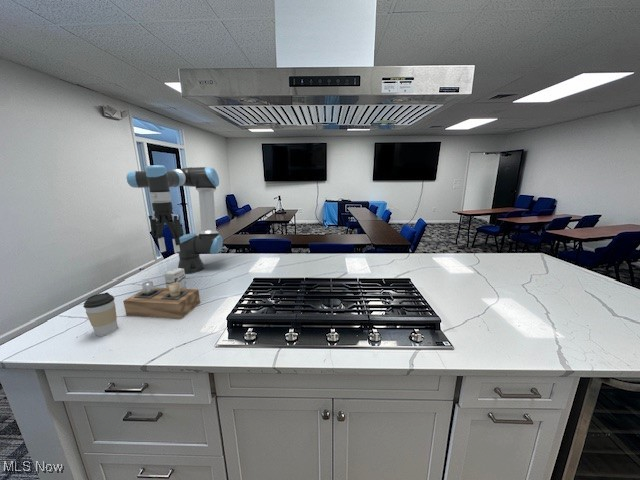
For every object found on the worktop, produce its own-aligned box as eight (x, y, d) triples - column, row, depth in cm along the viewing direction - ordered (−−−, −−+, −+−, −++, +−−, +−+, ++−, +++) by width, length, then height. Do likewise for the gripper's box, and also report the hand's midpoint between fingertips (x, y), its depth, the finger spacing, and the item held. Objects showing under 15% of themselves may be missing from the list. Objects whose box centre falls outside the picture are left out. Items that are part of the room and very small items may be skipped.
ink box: (175, 295, 127) (172, 274, 124) (167, 295, 128) (163, 273, 125) (187, 288, 135) (184, 268, 132) (179, 287, 136) (176, 267, 133)
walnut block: (151, 300, 123) (148, 286, 121) (200, 302, 120) (198, 288, 118) (126, 315, 109) (122, 300, 107) (181, 318, 106) (178, 302, 104)
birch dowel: (175, 296, 114) (172, 282, 113) (183, 296, 114) (180, 282, 112) (169, 300, 111) (166, 286, 109) (177, 300, 110) (174, 286, 108)
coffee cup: (97, 340, 93) (87, 304, 89) (87, 333, 97) (77, 298, 93) (125, 327, 100) (117, 293, 96) (114, 321, 104) (106, 289, 101)
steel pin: (149, 295, 116) (146, 281, 114) (157, 295, 116) (154, 281, 114) (142, 299, 112) (139, 284, 110) (150, 299, 112) (147, 285, 110)
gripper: (134, 202, 108) (144, 253, 113) (176, 202, 105) (184, 254, 111) (148, 201, 115) (157, 249, 121) (187, 200, 112) (194, 249, 118)
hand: (170, 251), depth 116 cm, fingers open, 6 cm apart
